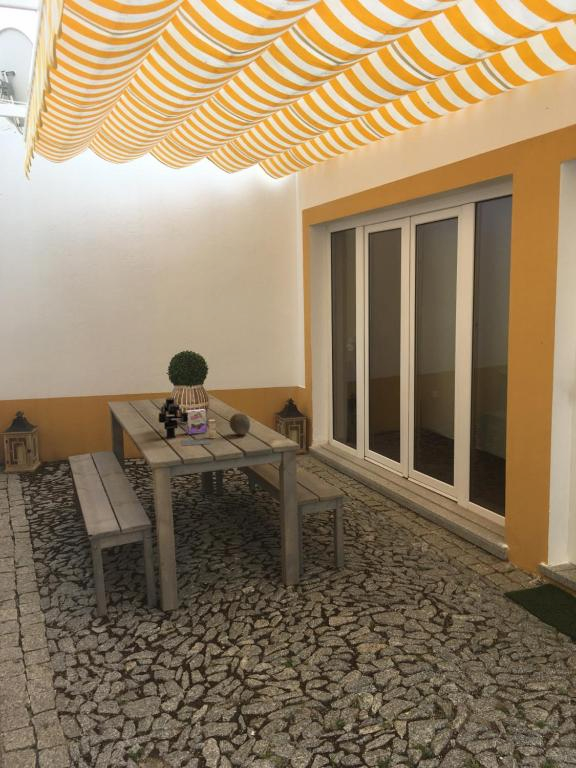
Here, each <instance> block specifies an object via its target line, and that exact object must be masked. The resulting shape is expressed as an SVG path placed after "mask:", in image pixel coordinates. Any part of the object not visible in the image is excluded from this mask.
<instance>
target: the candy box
mask: <svg viewBox="0 0 576 768" xmlns="http://www.w3.org/2000/svg"><path fill="white" fill-rule="evenodd" d="M184 412H186V413H187V414H188V416H187V422H185V433H186V434H187V435H189V434H190V435H196V434H195V433H200V434H206V433H205V432H207V433H208V431H207V430H208V429H207V428H208V425H207V410H206V409H205V408H201V409H200V408H199V409H190V410H184Z"/></svg>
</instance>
